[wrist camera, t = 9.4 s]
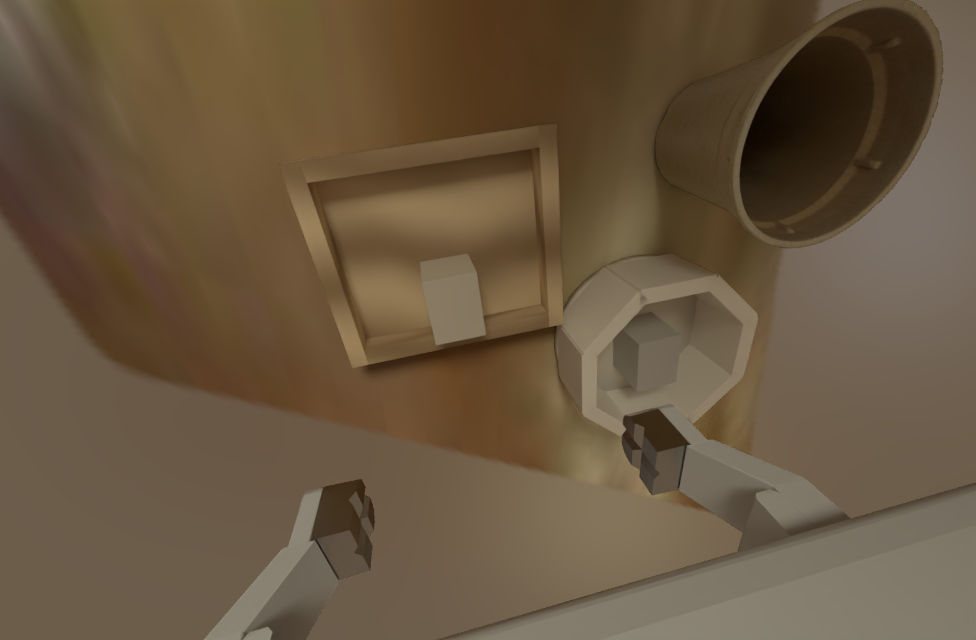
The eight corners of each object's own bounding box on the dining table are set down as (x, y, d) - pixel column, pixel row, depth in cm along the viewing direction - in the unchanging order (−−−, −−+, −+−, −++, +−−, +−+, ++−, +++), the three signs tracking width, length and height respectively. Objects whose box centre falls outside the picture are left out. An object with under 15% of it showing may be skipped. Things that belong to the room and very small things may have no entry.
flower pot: (681, 242, 26) (791, 285, 19) (597, 148, 22) (694, 156, 15) (790, 127, 24) (966, 124, 16) (719, 2, 20) (907, -79, 12)
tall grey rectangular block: (613, 320, 27) (639, 344, 24) (651, 311, 27) (681, 334, 24) (612, 364, 29) (636, 392, 26) (648, 356, 29) (676, 382, 26)
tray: (291, 161, 20) (278, 164, 18) (543, 124, 21) (556, 123, 19) (356, 349, 25) (352, 367, 23) (552, 310, 27) (563, 324, 25)
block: (419, 262, 23) (421, 282, 20) (467, 253, 23) (476, 271, 20) (432, 318, 25) (435, 345, 22) (476, 310, 25) (486, 335, 22)
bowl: (550, 271, 25) (581, 301, 21) (709, 241, 27) (771, 263, 22) (557, 405, 31) (582, 452, 26) (688, 375, 32) (734, 414, 28)
